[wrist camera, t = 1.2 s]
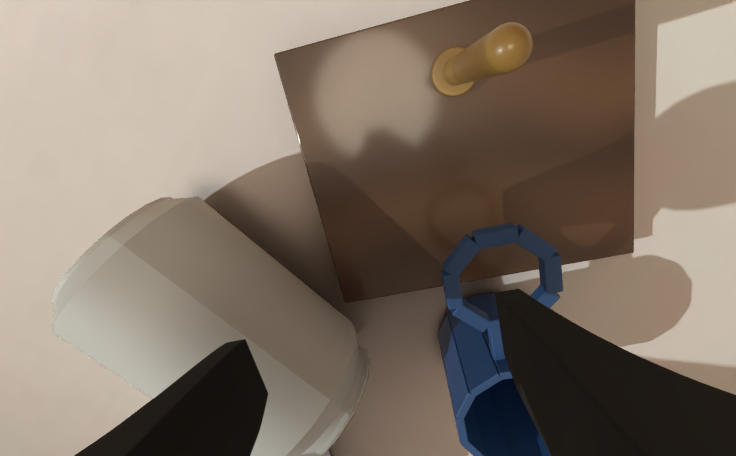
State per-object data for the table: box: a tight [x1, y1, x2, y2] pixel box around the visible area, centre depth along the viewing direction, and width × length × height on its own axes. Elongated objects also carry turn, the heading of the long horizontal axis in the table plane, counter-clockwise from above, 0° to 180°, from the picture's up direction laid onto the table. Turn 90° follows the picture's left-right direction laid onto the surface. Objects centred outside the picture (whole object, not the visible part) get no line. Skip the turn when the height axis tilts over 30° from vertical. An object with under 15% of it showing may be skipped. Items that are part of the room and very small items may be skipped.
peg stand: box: [274, 0, 635, 303], centre depth 13 cm, size 12×14×9 cm
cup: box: [438, 223, 563, 456], centre depth 16 cm, size 11×5×6 cm, turn 13°
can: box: [51, 197, 370, 456], centre depth 16 cm, size 8×8×12 cm
